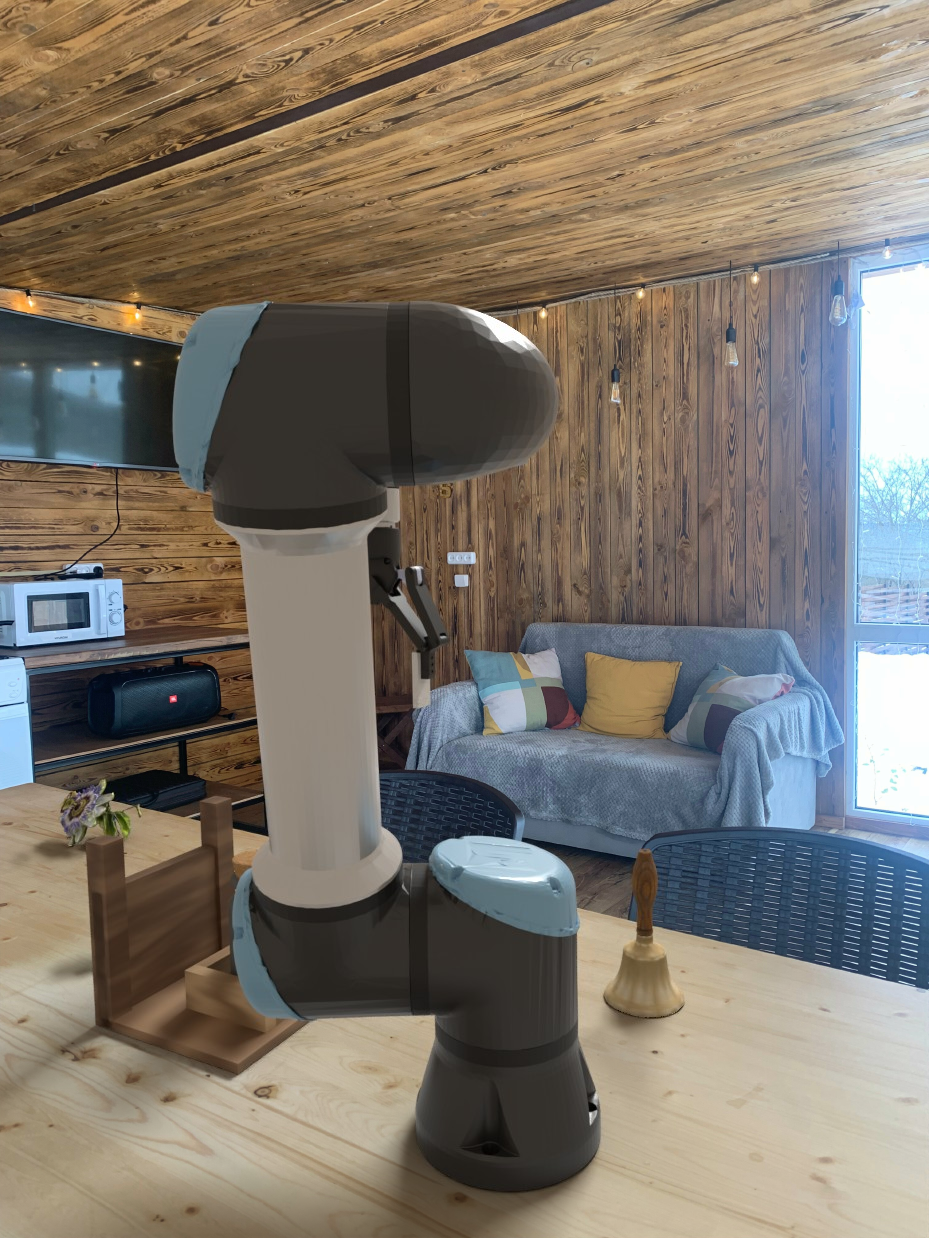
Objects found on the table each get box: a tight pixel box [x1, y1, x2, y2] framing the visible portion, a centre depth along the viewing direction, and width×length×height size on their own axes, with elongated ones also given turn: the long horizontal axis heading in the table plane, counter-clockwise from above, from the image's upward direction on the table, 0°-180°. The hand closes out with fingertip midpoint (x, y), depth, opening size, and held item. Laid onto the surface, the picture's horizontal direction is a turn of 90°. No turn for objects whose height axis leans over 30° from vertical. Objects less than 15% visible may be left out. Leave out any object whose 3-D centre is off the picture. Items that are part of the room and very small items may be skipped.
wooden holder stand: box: [84, 795, 310, 1075], centre depth 95 cm, size 19×18×19 cm
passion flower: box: [58, 778, 143, 845], centre depth 151 cm, size 11×11×12 cm
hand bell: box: [603, 848, 685, 1019], centre depth 96 cm, size 8×8×16 cm
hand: (373, 702), depth 111 cm, fingers open, 13 cm apart
